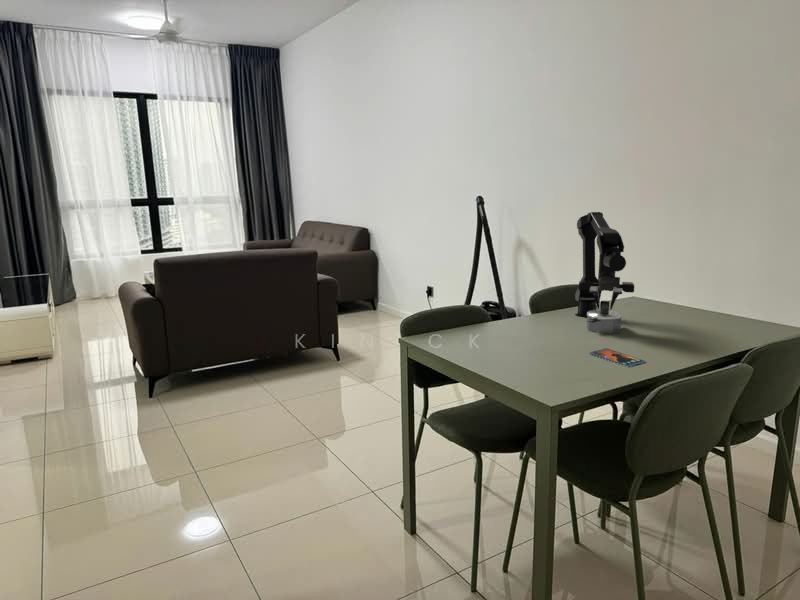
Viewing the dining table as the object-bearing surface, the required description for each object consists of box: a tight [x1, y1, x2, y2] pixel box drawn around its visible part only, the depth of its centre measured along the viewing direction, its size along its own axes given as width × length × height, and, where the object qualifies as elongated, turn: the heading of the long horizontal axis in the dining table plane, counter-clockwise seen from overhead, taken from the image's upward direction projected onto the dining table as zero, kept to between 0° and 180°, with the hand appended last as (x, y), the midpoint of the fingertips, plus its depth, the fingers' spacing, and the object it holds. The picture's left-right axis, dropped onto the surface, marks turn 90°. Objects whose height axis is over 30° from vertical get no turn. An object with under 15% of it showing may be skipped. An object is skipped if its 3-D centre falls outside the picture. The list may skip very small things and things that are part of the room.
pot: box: [586, 316, 622, 334], centre depth 205 cm, size 11×16×5 cm
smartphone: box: [589, 347, 647, 368], centre depth 173 cm, size 8×1×15 cm
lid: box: [587, 300, 623, 320], centre depth 204 cm, size 12×12×6 cm
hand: (604, 309), depth 204 cm, fingers open, 4 cm apart
